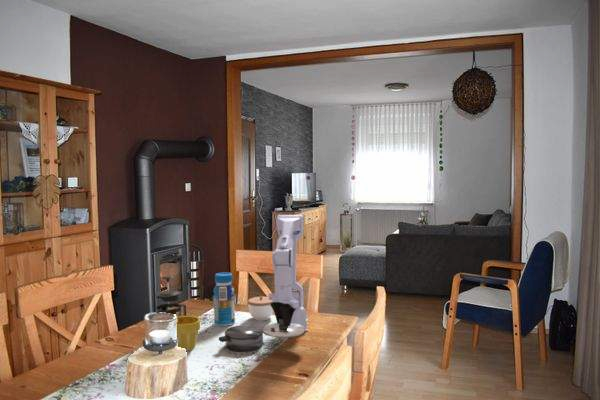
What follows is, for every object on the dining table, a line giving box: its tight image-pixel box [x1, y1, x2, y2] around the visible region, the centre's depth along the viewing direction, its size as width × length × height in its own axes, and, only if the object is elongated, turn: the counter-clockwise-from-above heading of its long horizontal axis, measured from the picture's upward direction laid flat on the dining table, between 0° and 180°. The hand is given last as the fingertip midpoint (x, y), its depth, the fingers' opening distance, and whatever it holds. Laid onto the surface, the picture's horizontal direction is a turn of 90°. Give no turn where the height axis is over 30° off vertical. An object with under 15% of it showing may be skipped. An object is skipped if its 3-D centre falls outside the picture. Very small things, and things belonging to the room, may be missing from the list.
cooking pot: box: [218, 324, 266, 353], centre depth 173 cm, size 19×13×5 cm
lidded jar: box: [247, 295, 274, 322], centre depth 204 cm, size 11×11×9 cm
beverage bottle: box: [212, 271, 236, 327], centre depth 197 cm, size 8×8×20 cm
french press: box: [155, 275, 187, 317], centre depth 180 cm, size 12×9×23 cm
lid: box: [263, 317, 305, 339], centre depth 167 cm, size 14×14×4 cm
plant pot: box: [176, 315, 201, 351], centre depth 171 cm, size 10×10×10 cm
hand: (283, 324), depth 167 cm, fingers closed on lid, 3 cm apart
